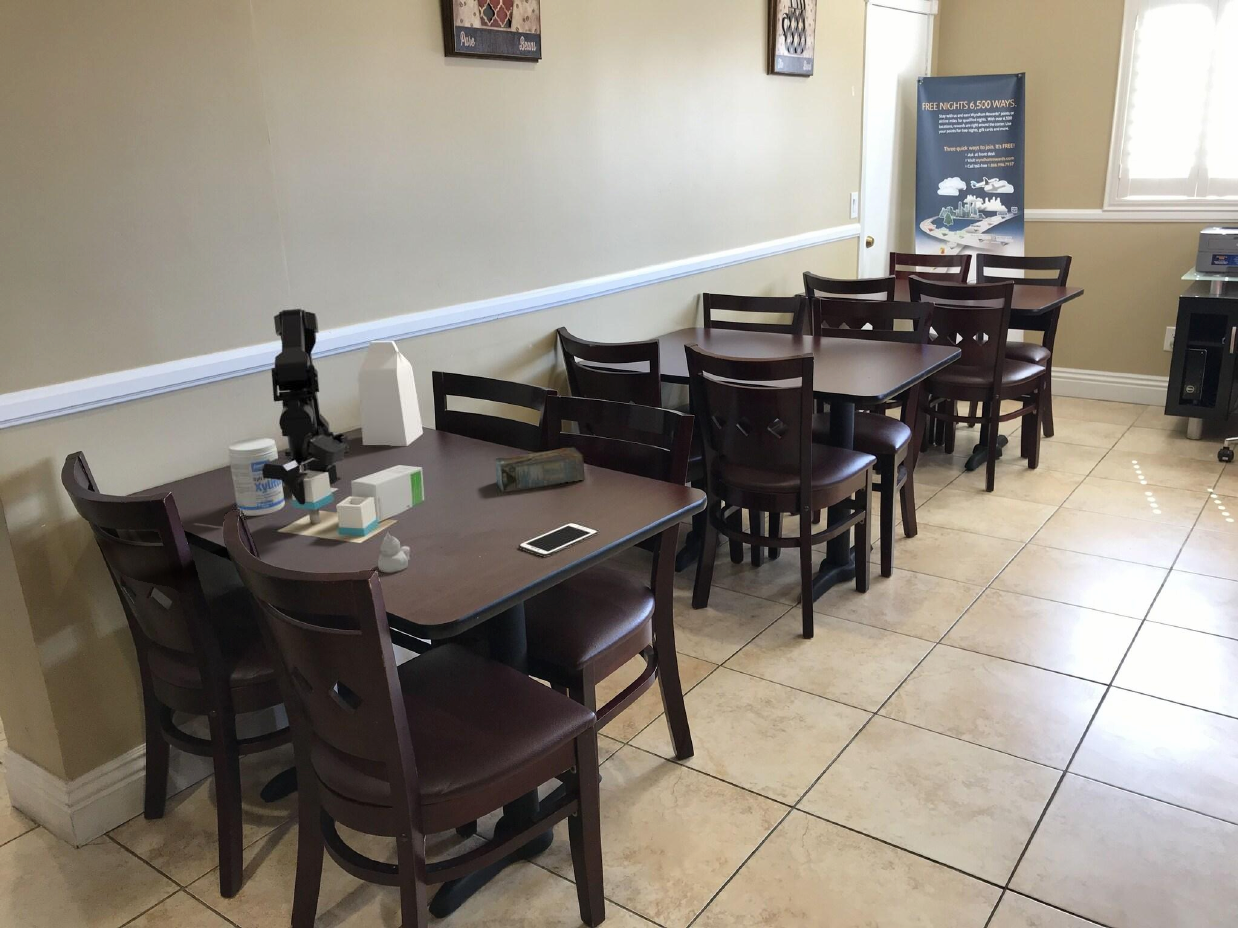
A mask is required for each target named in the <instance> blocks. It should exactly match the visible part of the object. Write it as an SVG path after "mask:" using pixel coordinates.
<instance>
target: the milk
mask: <svg viewBox="0 0 1238 928" xmlns="http://www.w3.org/2000/svg"><path fill="white" fill-rule="evenodd" d="M357 379H358V380H357V382H358V394H359V407H360V422H361V435H362V446H363V445H391V446H390V447H394V446H395V447H407V446H409V445H410V444H411V443H413V442H414V441H415V440H417V439H418V438H419V437H420V436H422V435H423V434H424V431H423V425H422V418H421V414H420V406H419V400H418V395H417V389H416V388H417V387H416V384H415V377H414V371H413V367H412V364H411V363H410V361H408V359H407V358H406V357H405V356H404V355H403V354H402V353H401V352H400V350H399V348H398V345H396V343H395V340H372V341H370V342H369V345H368V348H367V353H366V354H365V356H364V358H363V361H362V363H361V365H360V367H359V371H358V375H357Z"/></svg>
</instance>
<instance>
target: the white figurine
mask: <svg viewBox="0 0 1238 928" xmlns="http://www.w3.org/2000/svg"><path fill="white" fill-rule="evenodd" d="M379 550H380V551H381V553H380V554H379V557H378V562H377V565H378V569H379V571H381V572H383V573H387V574H388V573H389V574H390V573H391V574H392V573H395V572H401V571H403V570H405V569H406V568H408V567H409V566H408V565H409V563H408V562H409V561H410V551H411V549H410V546H406V545H405V546H404V545H403V546H401V543H400V540H399V539H397V538H396V537H395V536H393V535H391V534H389V532H388V531H386V535H385V537H384V538H383V541H382V542H381V545H380V549H379Z"/></svg>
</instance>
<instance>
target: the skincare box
mask: <svg viewBox="0 0 1238 928" xmlns="http://www.w3.org/2000/svg"><path fill="white" fill-rule="evenodd" d="M350 485H351V486H350V488H351V496H357V497H374V505H375V512H376V518H378V522H380V521H383V520H385V519H391V518H393V517H395V516H397V515H399V514H401V513H403V512H405V511H407V510H408V509H410V508H412V507H414V506H416V505H418V504H419V503H422V502H423V501H425V491H424V477H423V467H421V466H412V465H411V466H410V465H401V464H397V465H395V466H391V467H388V468H386V469H383V470H380V471H377V472H375V473H372V474H368V475H366V476H362V477H359V478H357V479H355V480H351V481H350Z"/></svg>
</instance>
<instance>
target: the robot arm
mask: <svg viewBox="0 0 1238 928" xmlns="http://www.w3.org/2000/svg"><path fill="white" fill-rule="evenodd" d="M273 320H274V321H273V322H274V330H275V334H276V336H277V337H280V340H281V352H280V353H278V354H277V355H276V356H275V358H274V367H271V382H272V396H273V402H281V404H282V409H281V410H282V411H281V412H280V416H279V422H278V424H279V428H280V430H281V436H282V437H286V438H287V444H288V449H287V450H284V456H285V457H288V458H290V459H287V458H279V457H278V458H277V459H274V460H272V461H269V462H267V463H265V464H264V465H263V467H262V473H263V478H268V479H277V480H281V481H282V484H284V485H285V486H286V488H287V489H288V490H289V492H290V493H291V495H292V494H293V496H294V497H295V499H296V500H297V501H298V503H299V504H302V505H303V504H305V494H304V483H303V480H304V478H305V477H306V475H307V473H302V472H304V471H307V470H310V471H319V472H328V475H329V482H330V485H332V484H334V483H335V482H338V481H340V480H342V477H340V476H338V472H337V468H336V467H337V466H336V463H338V462H342V461H343V460H344V456H345V455H346V454H348V453H349V452H348V451H349V450H350V446H349V439H348V435H347V434H346V433H344V432H340V433H337V434H334V431H331V429H330V423H329V421H328V420H327V419H326V418H325V417H324V416H323V415H322V413H321V411H320V403H319V396H318V393H320V387H319V385H320V383H319V372H318V370H317V368H316V367H315V365H314V363H313V356H312V352H313V350H314V347H315V345H316V343H317V334H318V333H319V323H318V317H317V315H316V313H315V312H310V311H306V310H305V309H301V308H295V309H294V308H293V309H292V308H291V309H282V310H281V311H279V313H278V314H276V315H274V316H273ZM302 466H303V469H302Z"/></svg>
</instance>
